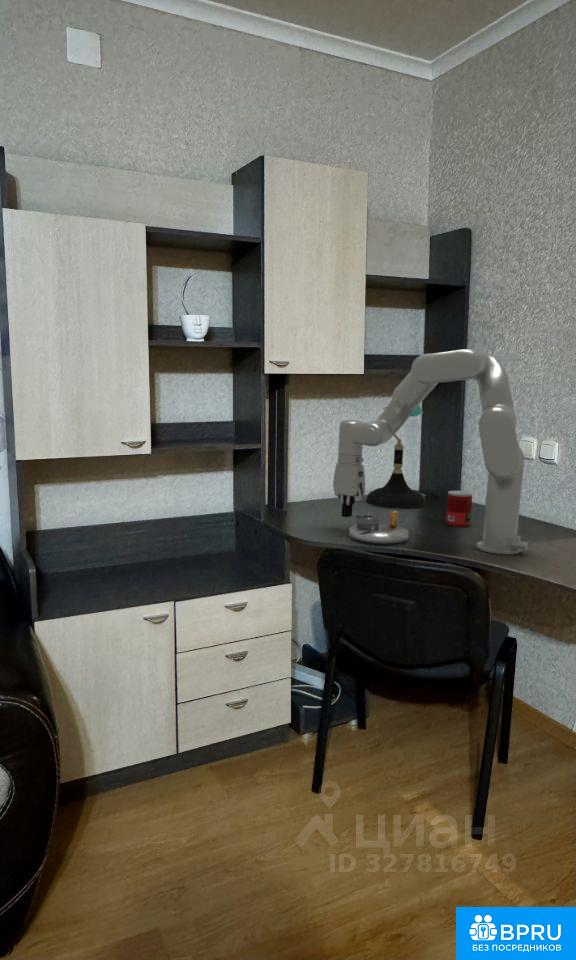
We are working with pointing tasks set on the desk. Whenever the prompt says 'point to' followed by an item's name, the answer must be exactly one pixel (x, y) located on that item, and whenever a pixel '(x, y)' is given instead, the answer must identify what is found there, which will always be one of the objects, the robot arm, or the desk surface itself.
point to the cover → (367, 521)
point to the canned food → (459, 508)
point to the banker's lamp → (397, 484)
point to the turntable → (381, 532)
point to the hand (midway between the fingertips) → (346, 516)
